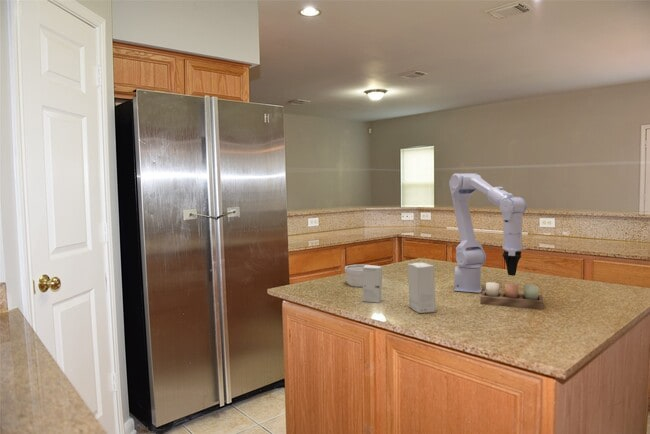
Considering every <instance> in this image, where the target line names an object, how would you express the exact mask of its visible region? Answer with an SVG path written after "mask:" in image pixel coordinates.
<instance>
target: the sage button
mask: <svg viewBox="0 0 650 434" xmlns="http://www.w3.org/2000/svg"><path fill="white" fill-rule="evenodd" d="M523 286H524V287H523V294H524V298H525V299H532V300H537V299H538V295H539V286H538V285H535V284H525V285H523Z"/></svg>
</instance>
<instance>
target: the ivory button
mask: <svg viewBox="0 0 650 434" xmlns="http://www.w3.org/2000/svg"><path fill="white" fill-rule="evenodd" d="M485 291H486V295H487V296H495V297H497V296H499V292H500V283H498V282H495V281H494V282H493V281H491V282H490V281H489V282H485Z"/></svg>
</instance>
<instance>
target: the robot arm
mask: <svg viewBox="0 0 650 434" xmlns="http://www.w3.org/2000/svg"><path fill="white" fill-rule="evenodd" d="M448 185H449V189H450V194H451V199H452V205H453V210H454V215H455V221H456V225H457V230H458V235H459V240H460V243H459V244H457V246H456V247H455V253H456V255H455V260H456V263H457V265H456V266H454V283H453V284H454V285H453V286H454V289H453V291H454V292H465V293H478V294H482V291H483V287H482V285H481V283H482V281H481V280H482V277H481V276H482V275H481V274H482V271H481V270H482V267H483V265H484V264H485V263H486V261H487V255H486V252H485V250H484V249H483V245H482V244H481V242H479V241H477V239H476V236H475V231H474V226H473V221H472V216H471V213H470V212H471V211H470V208H469V207H470V206H469V201H468V199H469V198H470V197H472V196H473V194H474V193H475V192H476V191H479V192H480V193H481V194H484V195H485V196H487V200H488V201H489V202H490V203H492V204H493V205H494V206H497V207H498V208H499V210H500V213H501V219H502V220H503V226H502V227H503V232H502V233H503V235H502V238H503V239H502V241H503V243H502V247H501V248H502V249H503V250H505V251H503V253H502V257H503V259H504V262H505V265H506V270H507V275H508V276H512V277H513V276H516V273H517V270H518V269H517V268H518V264H519V262H520V259H521V258H522V251H523V250H526V246H523V245H522V244H523V243H522V242H523V240H522V239H523V214H524V213H525V212H526V211H527V201H526V200H525V199H524V198H523V197H522V196H514V194H513V193H511V192H508V191H506V190H505V189H504V187H503V186H494V187H493V186H492V185H491V184H490V183H488V182H487V181H486V180H484V179H483V178H482V175H480V174H478V173H475V172H472V173H453V174H452V175H451V176H450V180H449V181H448Z"/></svg>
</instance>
